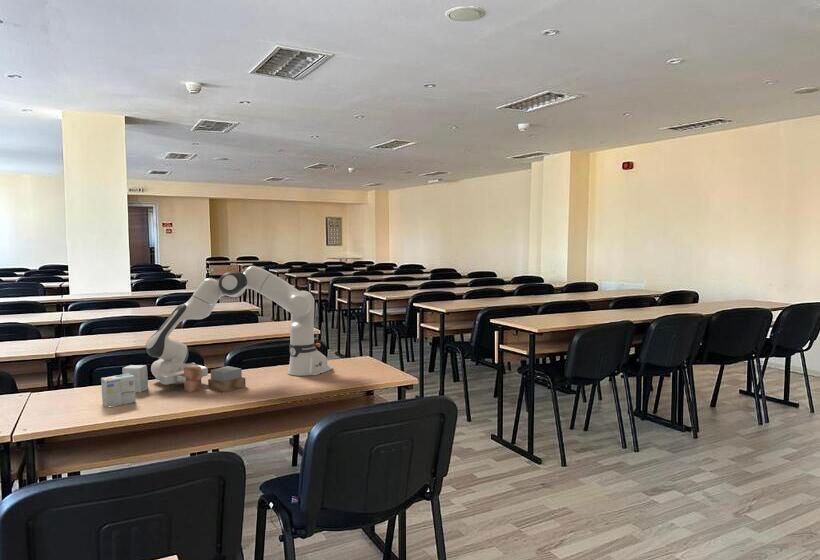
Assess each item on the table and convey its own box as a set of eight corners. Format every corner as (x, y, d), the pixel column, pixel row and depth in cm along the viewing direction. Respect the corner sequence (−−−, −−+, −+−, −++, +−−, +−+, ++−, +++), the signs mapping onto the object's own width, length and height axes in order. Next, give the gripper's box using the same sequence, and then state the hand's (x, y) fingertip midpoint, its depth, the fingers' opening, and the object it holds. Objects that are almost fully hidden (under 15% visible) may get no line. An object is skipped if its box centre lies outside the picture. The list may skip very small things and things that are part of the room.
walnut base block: (230, 384, 247) (229, 374, 246) (245, 387, 240) (245, 377, 240) (208, 389, 238) (208, 379, 238) (223, 393, 231) (223, 383, 231)
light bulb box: (130, 398, 223) (129, 372, 222) (136, 402, 218) (135, 375, 217) (101, 404, 216) (100, 377, 215) (106, 408, 211) (105, 380, 210)
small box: (148, 389, 237) (147, 365, 237) (140, 392, 232) (139, 368, 231) (130, 388, 238) (129, 364, 237) (122, 392, 233) (121, 367, 232)
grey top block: (227, 374, 245) (227, 366, 245) (241, 377, 240) (241, 368, 240) (210, 379, 237) (210, 370, 237) (224, 382, 233) (224, 372, 232)
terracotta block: (195, 388, 239) (194, 365, 238) (201, 389, 236) (200, 366, 235) (184, 390, 235) (183, 367, 234) (190, 392, 232) (190, 369, 231)
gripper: (153, 370, 234) (170, 375, 226) (196, 361, 251) (214, 366, 242) (153, 385, 235) (170, 390, 226) (197, 375, 251) (215, 380, 243)
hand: (193, 377), depth 234 cm, fingers open, 5 cm apart
